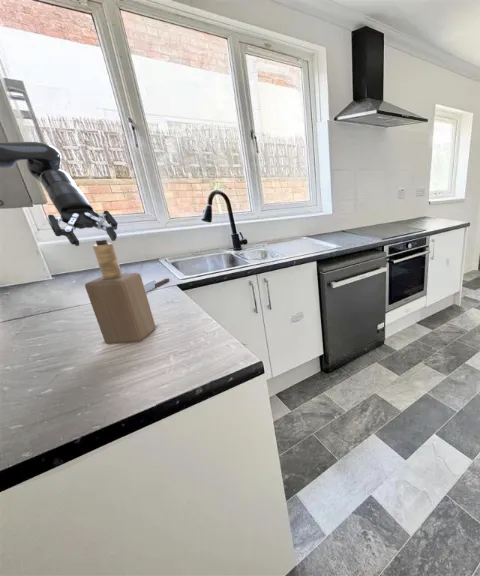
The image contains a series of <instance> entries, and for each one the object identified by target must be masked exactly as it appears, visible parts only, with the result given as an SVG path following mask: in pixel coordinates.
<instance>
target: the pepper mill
mask: <svg viewBox="0 0 480 576" xmlns="http://www.w3.org/2000/svg"><path fill="white" fill-rule="evenodd" d="M92 249H93V252H94V255H95V258H96V261H97V264H98V267H99V270H100V273H101V277H102V276H103V279H115V278H119V277H122V274H123V273H122V270H121V267H120V264H119V259H118V257H117V253H116V251H115V248H114V244H113V243H112V242H108V240H107V239H105V238H104V239H96V240H95V244H92Z"/></svg>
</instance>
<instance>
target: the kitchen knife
mask: <svg viewBox="0 0 480 576" xmlns="http://www.w3.org/2000/svg"><path fill="white" fill-rule="evenodd" d="M169 282H170V278H164V279H161V280H160V281H156V280H155V279H151V280H150V281H148V282H146V283H143V285H144V288H145V292H146V293H147V292H148V291H151V290H153V289H155V288H158V287H160V286H162V285H164V284H166V283H169Z"/></svg>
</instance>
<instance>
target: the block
mask: <svg viewBox="0 0 480 576" xmlns="http://www.w3.org/2000/svg"><path fill="white" fill-rule="evenodd" d="M84 288H85V290H86V293H87V296H88V299H89V302H90V304H91V307H92V310H93V313H94V315H95V319H96V322H97V324H98V327H99V329H100V332H101V335H102V338H103V341H104V343H105V344H106V345H113V344H114V345H115V344H116V345H117V344H127V343H139V342H141V341H142V340H144V339H145V338H146V337H147V336H148V335H149V334H151V333H152V332H153V331H154V330H156V323H155V319H154V316H153V313H152V308H151V306H150V303H149V298H148V296H147V292H145V288H144V282H143V279H142V275H141V273H139V272H126V273H125V272H124V273H122V277H119V278H115V279H103V276H102V275H101V276H100V277H98V278H96V279H95V278H94V279H93V280H90V281H88V282H86V283H85V284H84Z"/></svg>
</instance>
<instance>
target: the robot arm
mask: <svg viewBox="0 0 480 576" xmlns="http://www.w3.org/2000/svg"><path fill="white" fill-rule="evenodd" d="M23 160H26V161H25V163H26V168H27V170H28V172H29V174H30V175H31V176H32V177H34V178H35V179H36V180H37V181H38V182H39V183H40V184H41V185H42V187H43V188H44V189H45V191H46V193H47V196H48V197H49V199H50V201H51V202H52V204H53V206H54V207H55V209H56V211H57V212H58V213H59V215H60V216H59V215H57V216H55V215H54V214H48V215H47V221H48V224H49V225H50V227H51V229H52V232H53V233H54V235H55V236H56V237H61V236H64V237H66V238H67V240H68V241H69V243H70V244H71V245H72V246H75V247H79V246H80V240H79V238H78V237H77V236H76V234H75V231H76V229H79V230H83V229H93V228H95V229H98V230H102V231H104V232H106V234H107V236H108V237H109V239H110V240H111V241H112V242H116V240H117V237H118V235H117V232H116V231H117V230H118V226H119V225H118V222H117V221H116V219H115V217H113V215H112V214H111V212H109V211H108V210H104V211H103V212H99V213H98V212H97V211H95V210H94V208H93V207H92V205H91V204H90V202H89V201H88V199H87V198H86V195H85V194H84V193H83V192H82V190H81V189H80V188H79V186H77V184H76V182H75V181H74V180H73V178H72V177H71V176H70V174H69V173H67V172H66V171H64V170H62V169H61V162H62V154H61V152H60V151H59V150H58V149H57V148H55V147H54V146H52V145H50V144H47V143H43V142H39V141H6V142H5V141H4V142H3V141H0V168H1V169H13V168H14V167H15V166H16V164H17V163H18V162H19V161H23ZM61 222H63V223H64V224H66V226H65V228H61V226H60V224H61Z"/></svg>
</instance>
